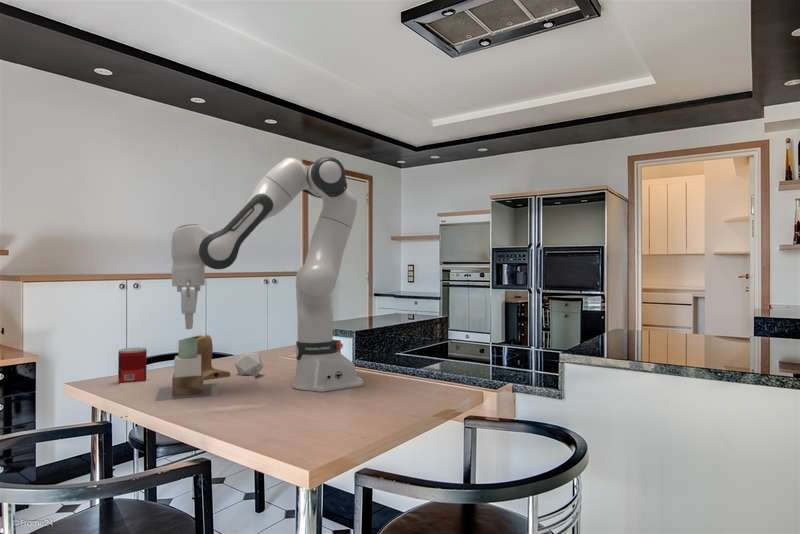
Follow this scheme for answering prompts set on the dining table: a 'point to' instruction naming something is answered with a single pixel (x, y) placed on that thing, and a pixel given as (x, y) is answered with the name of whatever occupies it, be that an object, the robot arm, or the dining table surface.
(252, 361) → the die
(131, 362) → the red box
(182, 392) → the walnut block
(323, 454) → the dining table surface
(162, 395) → the slate coaster
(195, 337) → the tan boot
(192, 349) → the sage cylinder
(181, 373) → the cream block
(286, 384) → the dining table surface
